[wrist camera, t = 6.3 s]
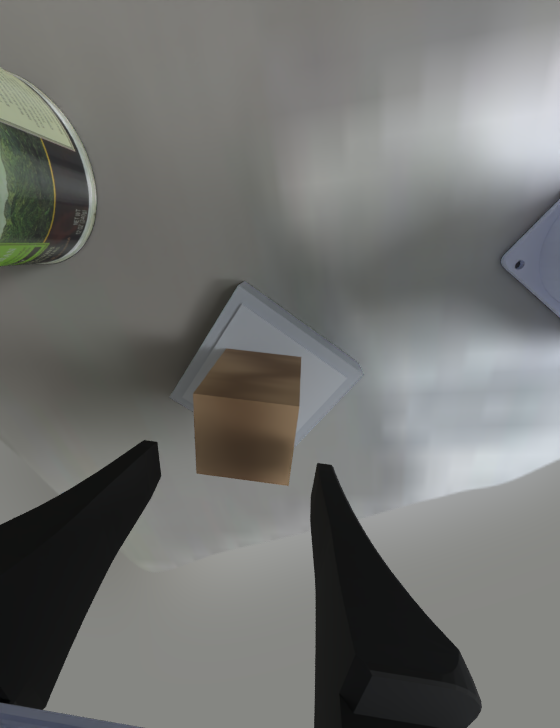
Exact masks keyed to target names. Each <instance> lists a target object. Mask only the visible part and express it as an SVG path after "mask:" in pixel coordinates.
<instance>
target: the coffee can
mask: <svg viewBox="0 0 560 728" xmlns="http://www.w3.org/2000/svg"><path fill="white" fill-rule="evenodd" d="M96 208H97V194H96V186H95V180H94V175H93V171H92V168H91V164H90V161H89V158H88V156H87V153H86V151H85V148H84V146H83V144H82V142H81V140H80V139H79V137H78V135H77V133H76V132H75V130H74V128H73V127H72V125H71V124H70V122H69V121H68V120H67V118H66V117H65V116H64V114H63V113H62V112H61V111H60V109H59V108H58V107H57V106H56V105H55V104H54V103H53V102H52V101H51V100H50V99H49V98H48V97H47V96H46V95H45V94H44V93H43V92H41V91H40V90H39V89H38V88H36V87H35V86H34V85H33V84H31V83H30V82H28V81H26V80H25V79H23V78H21V77H19V76H17V75H15V74H13V73H10V72H8V71H5V70H4V69H2V68H0V266H9V265H21V264H51V263H58V262H61V261H64V260H66V259H68V258H70V257H71V256H73V255H74V254H76V253H77V252H78V251H79V250H80V249H81V248H82V247H83V245H84V244H85V243H86V241H87V240H88V238H89V236H90V234H91V231H92V229H93V226H94V222H95V217H96Z"/></svg>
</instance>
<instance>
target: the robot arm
mask: <svg viewBox="0 0 560 728" xmlns="http://www.w3.org/2000/svg"><path fill="white" fill-rule="evenodd" d="M518 261H520V265H519V267H518V268H515V264H516V263H517V262H518ZM501 264H502V266H503V267H504V268H505V269H506V270H507V271H508V272H509V273H511V274H512V275H513V276H514V277H515V278H516V279H517V280H518V281H520V282H521V283H522V284H523V285H524V286H525V287H526V288H527V289H528V290H530V291H531V292H532V293H533V294H534V295H535V296H536V297H537V298H538V299H540V300H541V301H542V302H543V303H544V304H545V305H546V306H547V307H548V308H550V309H551V310H552V311H553V312H554V313H555V314H556V315H557V316H559V317H560V199H559V200H558V201H557V202H556V203H555V204H554V205H553V206H552V207H551V208H550V209H549V210H548V211H547V212H546V213H545V214H544V215H543V216H542V217H541V218H540V219H539V220H538V221H537V222H536V223H535V224H534V225H533V226H532V227H531V228H530V229H529V230H528V231H527V232H526V233H525V234H524V235H523V236H522V237H521V238H520V239H519V240H518V241H517V242H516V243H515V244H514V245H513V246H512V247H511V248H510V249H509V250H508V251H507V252H506V253H505V254H504V256H503V257H502V260H501ZM160 477H161V471H160V462H159V453H158V444H157V442H154V441H146V440H144V441H142V442H141V443H139V444H138V445H136V446H135V447H133V448H132V449H130V450H129V451H128V452H126V453H125V454H123V455H122V456H120V457H119V458H117V459H116V460H114V461H113V462H112V463H110V464H109V465H107V466H106V467H104V468H103V469H101V470H100V471H98V472H97V473H95V474H93V475H92V476H90V477H89V478H87V479H85V480H84V481H82V482H81V483H79V484H77V485H76V486H74V487H73V488H71V489H69V490H68V491H66V492H64V493H62V494H61V495H59V496H57V497H55V498H53V499H51V500H50V501H48V502H46V503H44V504H42V505H40V506H39V507H37V508H34V509H32V510H30V511H28V512H26V513H24V514H22V515H20V516H18V517H16V518H14V519H12V520H9V521H8V522H6V523H3V524H1V525H0V728H143V727H137V726H131V725H125V724H119V723H114V722H108V721H103V720H97V719H91V718H85V717H79V716H74V715H68V714H62V713H56V712H51V711H45V710H43V709H44V708H45V707H46V705H47V702H48V700H49V698H50V695H51V692H52V690H53V688H54V686H55V683H56V681H57V679H58V676H59V674H60V672H61V669H62V667H63V664H64V662H65V660H66V658H67V655H68V653H69V651H70V648H71V646H72V644H73V642H74V639H75V637H76V635H77V633H78V631H79V629H80V626H81V624H82V622H83V620H84V618H85V616H86V613H87V612H88V609H89V607H90V605H91V603H92V601H93V599H94V597H95V595H96V593H97V591H98V589H99V587H100V585H101V583H102V581H103V579H104V577H105V575H106V573H107V571H108V569H109V567H110V565H111V563H112V561H113V559H114V558H115V556H116V554H117V552H118V551H119V549H120V547H121V546H122V544H123V543H124V541H125V539H126V538H127V536H128V535H129V533H130V531H131V530H132V528H133V526H134V525H135V523H136V522H137V520H138V518H139V517H140V515H141V514H142V512H143V510H144V509H145V507H146V505H147V504H148V502H149V500H150V499H151V497H152V495H153V493H154V491H155V488H156V486H157V484H158V482H159V480H160ZM310 522H311V535H312V545H313V546H312V547H313V559H314V570H315V571H314V572H315V587H316V588H315V589H316V655H315V657H316V658H315V716H314V728H467V727H468V726H469V725H470V724H471V723H472V722H473V721H474V720H475V719H476V718H477V716H478V715H479V713H480V711H481V708H482V706H481V700H480V697H479V695H478V692H477V689H476V687H475V684H474V681H473V679H472V677H471V675H470V673H469V670H468V668H467V666H466V664H465V662H464V659H463V657H462V655H461V653H460V651H459V650H458V648H457V647H456V646H455V645H454V644H453V643H452V642H451V641H450V640H449V639H448V638H447V637H446V636H445V635H444V633H443V632H442V631H441V630H440V629H439V628H438V627H437V626H436V625H435V624H434V623H433V622H432V620H431V619H430V618H429V617H428V616H427V615H426V614H425V613H424V611H423V610H422V609H421V608H420V607H419V605H418V604H417V603H416V602H415V601H414V600H413V598H412V597H411V596H410V595H409V593H408V592H407V591H406V589H405V588H404V587H403V586H402V585H401V583H400V582H399V581H398V579H397V578H396V577H395V576H394V574H393V573H392V572H391V570H390V569H389V568H388V566H387V565H386V563H385V562H384V561H383V559H382V558H381V556H380V555H379V553H378V552H377V550H376V549H375V548H374V546H373V544H372V543H371V541H370V540H369V538H368V536H367V535H366V533H365V531H364V530H363V528H362V526H361V525H360V523H359V521H358V519H357V518H356V516H355V514H354V512H353V510H352V508H351V506H350V504H349V502H348V500H347V498H346V496H345V494H344V492H343V490H342V488H341V486H340V483H339V481H338V479H337V476H336V474H335V471H334V468H333V467H332V465H328V464H320V463H317V467H316V472H315V478H314V483H313V488H312V493H311V514H310Z"/></svg>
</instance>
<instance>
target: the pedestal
mask: <svg viewBox="0 0 560 728" xmlns="http://www.w3.org/2000/svg"><path fill="white" fill-rule="evenodd" d="M226 348H228V349H236V350H245V351H254V352H263V353H271V354H280V355H289V356H297V357H301V379H300V406H299V414H298V421H297V428H296V435H295V442H294V447H295V446H296V445H297V444H298V443H299V442H300V441H301V440H302V439H303V438H304V437H305V436H306V435H307V434H308V433H309V432H310V431H311V430H312V429H313V428H314V427H315V425H316V424H317V423H318V422H319V421H320V420H321V419H322V418H323V417H324V416H325V415H326V414H327V413H328V412H329V411H330V410H331V409H332V408H333V407H334V406H335V405H336V404H337V402H338V401H339V400H340V399H341V398H342V397H343V396H344V395H345V394H346V393H347V392H348V391H349V390H350V389H351V388H352V387H353V386H354V385H355V384H356V383H357V382H358V381H359V380H360V378H361V377H362V376H363V375H364V373H363V371H362V369H361V367H360V364H359V363H358V362H357V361H356V360H354V359H353V358H351V357H350V356H349V355H347V354H346V353H345V352H343V351H342V350H340V349H339V348H338V347H336V346H335V345H333V344H332V343H331V342H329V341H328V340H326V339H325V338H324V337H322V336H321V335H319V334H318V333H317V332H315V331H314V330H313V329H311V328H310V327H308V326H307V325H306V324H304V323H303V322H301V321H300V320H299V319H297V318H296V317H294V316H293V315H292V314H290V313H289V312H287V311H286V310H285V309H283V308H282V307H281V306H279V305H278V304H276V303H275V302H274V301H272V300H271V299H269V298H268V297H267V296H265V295H264V294H262V293H261V292H260V291H258V290H257V289H255V288H254V287H253V286H251V285H250V284H249V283H247V282H246V281H244V282H242V283H241V284H239V285H238V286H237V288H236V290H235V291H234V293H233V295H232V296H231V298H230V299H229V301H228V303H227V304H226V306H225V308H224V309H223V311H222V312H221V314H220V316H219V317H218V319H217V321H216V322H215V324H214V325H213V327H212V329H211V330H210V332H209V334H208V335H207V337H206V338H205V340H204V342H203V343H202V345H201V347H200V348H199V350H198V351H197V353H196V355H195V356H194V358H193V360H192V361H191V363H190V364H189V366H188V368H187V369H186V371H185V373H184V374H183V376H182V377H181V379H180V381H179V382H178V384H177V386H176V387H175V389H174V390H173V392H172V394H171V395H170V397H169V398H171V399H172V400H174V401H176V402H177V403H179V404H181V405H182V406H184V407H186V408H187V409H189V410H191V411H192V412H194V406H193V393H194V391H195V390H196V389H197V387H198V386H199V385H200V383H201V382H202V381H203V379H204V378H205V377H206V375H207V374H208V372H209V371H210V370H211V368H212V367H213V366H214V364H215V363H216V362H217V360H218V359H219V358H220V356H221V355H222V354H223V352H224V351H225V349H226Z"/></svg>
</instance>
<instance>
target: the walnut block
mask: <svg viewBox="0 0 560 728" xmlns="http://www.w3.org/2000/svg"><path fill="white" fill-rule="evenodd" d="M300 379H301V357H297V356H289V355H280V354H271V353H263V352H254V351H245V350H236V349H228V348H226V349H225V351H224V352H223V354H222V355H221V356H220V358H219V359H218V360H217V362H216V363H215V364H214V366H213V367H212V368H211V370H210V371H209V372H208V374H207V375H206V377H205V378H204V379H203V381H202V382H201V383H200V385H199V386H198V387H197V389H196V390H195V391H194V393H193V406H194V428H195V449H196V471H197V474H205V475H212V476H220V477H227V478H235V479H242V480H249V481H257V482H264V483H272V484H279V485H287V486H288V485H289V478H290V471H291V464H292V457H293V450H294V442H295V435H296V428H297V421H298V414H299V406H300Z"/></svg>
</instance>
